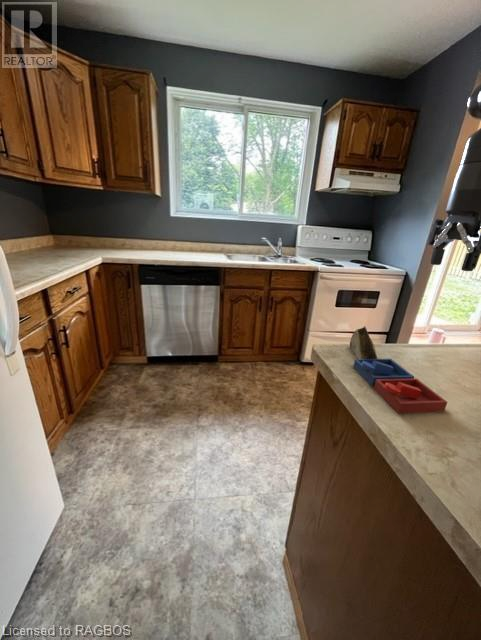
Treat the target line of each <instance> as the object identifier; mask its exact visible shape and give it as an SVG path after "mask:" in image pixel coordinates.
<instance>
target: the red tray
mask: <svg viewBox="0 0 481 640" xmlns="http://www.w3.org/2000/svg"><path fill="white" fill-rule="evenodd" d="M399 382H400V383H404V384H407V385H410V386H414V387H417V388H419V389H420V390H421V391H422V392H421V394H420V395H419V397H418V398H417V399H414V398H410V397H407V396H403V395H400V394H399V395H394V394H392V393H390V392H388V391H387V390H386V389H385V388H384V385H385V383H390V384H393V385H395V386H397V384H398V383H399ZM373 389H374V390H375V391H376V392H377V393H378V394H379V395H380V396H381V398H383V399H384V400H385V401H386V403H387V404H389V405H390V407H392V408H393V410H395V412H396V413H397V414H418V413H441V412H443V413H444V412H445V410H446V407H447V404H448V401H447V400H446V399H444V398H443V397H442V396H440V395H439V394H438V393H436V392H435V391H434V390H433V389H431V388H430V387H429V386H427V385H426V384H425V383H423V382H422V381H421V380H420V379H418V378H416V377H414V378H413V379H376V381H375V385H374V386H373Z"/></svg>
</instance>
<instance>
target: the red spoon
mask: <svg viewBox="0 0 481 640" xmlns="http://www.w3.org/2000/svg"><path fill="white" fill-rule="evenodd" d="M384 388H385V389H386V390H387V391H388V392H390V393H392V394H394V395H399V394H400V395H403V396H407V397H410V398H414V399H417V398H418V397H419V395H420V394H421V392H422V391H421V390H420V389H419V388H417V387H414V386H410V385H407V384H404V383H400V382H399V383H398V384H397V386H395V385H393V384H390V383H385V385H384Z"/></svg>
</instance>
